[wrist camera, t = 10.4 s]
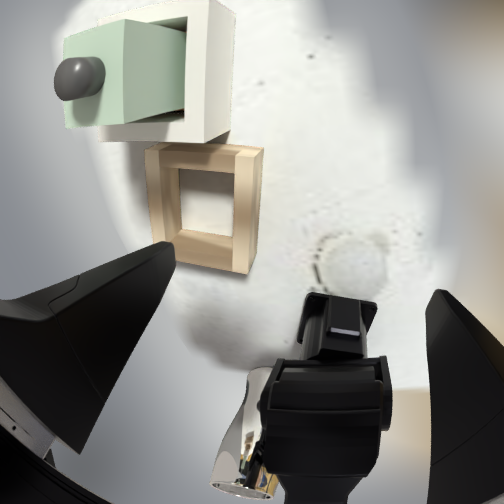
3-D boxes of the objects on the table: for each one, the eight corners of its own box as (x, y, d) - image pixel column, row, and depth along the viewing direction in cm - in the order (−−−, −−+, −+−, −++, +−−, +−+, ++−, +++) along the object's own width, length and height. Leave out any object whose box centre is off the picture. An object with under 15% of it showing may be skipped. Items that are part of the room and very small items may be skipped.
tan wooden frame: (256, 253, 25) (247, 274, 23) (170, 238, 26) (155, 256, 24) (263, 147, 20) (254, 157, 18) (164, 141, 22) (144, 150, 19)
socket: (230, 130, 20) (203, 143, 16) (138, 128, 21) (98, 142, 17) (235, 13, 15) (209, -5, 11) (138, 25, 17) (97, 19, 12)
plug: (195, 105, 18) (102, 130, 10) (145, 106, 19) (45, 136, 11) (198, 36, 15) (102, 15, 7) (146, 42, 16) (42, 39, 8)
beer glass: (249, 393, 37) (217, 492, 25) (238, 362, 34) (197, 476, 21) (301, 397, 35) (279, 503, 23) (298, 365, 32) (271, 491, 19)
